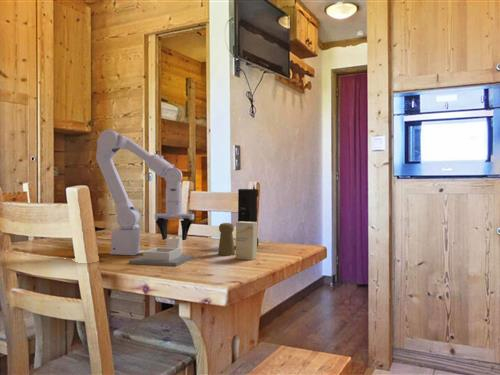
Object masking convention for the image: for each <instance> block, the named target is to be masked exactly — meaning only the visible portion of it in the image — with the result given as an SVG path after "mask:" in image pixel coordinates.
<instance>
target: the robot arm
mask: <svg viewBox="0 0 500 375" xmlns="http://www.w3.org/2000/svg"><path fill="white" fill-rule="evenodd" d="M96 142H97V147H96V156H95V160H96V162H97V164H98V168H99V169H100V172H101V174H102V176H103V178H104V181H105V183H106V186H107V189H108V190H109V193H110V195H111V197H112V198H111V199H112V200H113V201H114V204H115V212H116V215H117V224H118V228H115V229H113V230H112V231H111V236H110V242H111V243H110V247H111V248H110V253H109V255H121V256H123V255H124V256H135V255H139V254H143V251H145V250H144V249H143V250H141V240H140V239H141V227H140V226H139V223H140V222H141V214H140V211H138V210H137V209H136V208H135V206H134V204H133V202H132V201H131V200H130V198H129V196H128V193H127V191H126V189H125V187H124V184H123V182H122V179H121V176H120V175H119V172H118V170H117V168H116V166H115V163H114V161H113V159H114V157H115V155H116V153H117V152H118V151H119V150H120V149H122V150H127V151H129V152H130V153H132V154H133V155H136V156H137V157H138V158H140V159H141V160H142V161H145V163H146V166H147V167H146V168H148V169H149V170H151V171H152V172H154V173H155V174H156V175H158V176H159V177H160V178H164V180H165V182H166V184H165V185H166V186H165V187H166V188H165V213H162V212H161V213H154V220H155V223H156V225H157V226H158V228H159V232H160V234H161V238H162V241H163V240H165V241H166V238H168V222H169V220H180V226H181V237H182V241H186V240H187V238H188V233H189V230H190V228H191V225H192V223H193V220H195V213H183V188H182V185H183V184H182V182H181V181H182V180H183V172H182V171H181V170H180V169H179V168H178V167H175V164H173V163H170V162H169V161H167V160H166V159H164V156H163V155H161V154H157V153H156V154H151V153H150V152H148V151H147V150H145V149H144V148H143V147H141V146H140V145H139V144H137V142H135V141H133V140H132V139H131V138H129V137H127V136H124V135H122V134H121V133H120V132H117V131H115V130H113V129H105V130H103V131H101V132H100V134H99V136H98V138H97V140H96Z"/></svg>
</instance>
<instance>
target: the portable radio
mask: <svg viewBox="0 0 500 375" xmlns="http://www.w3.org/2000/svg"><path fill="white" fill-rule="evenodd" d="M237 190H238V191H237V192H238V194H237V201H238V202H237V204H238V205H237V207H238V208H237V210H238V211H237V222H240V221H244V222H257V223H258V197H259V189H258V188H256V187H255V186H253V187H252V188H238V189H237ZM258 247H259V238H258V237H257V248H258Z"/></svg>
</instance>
